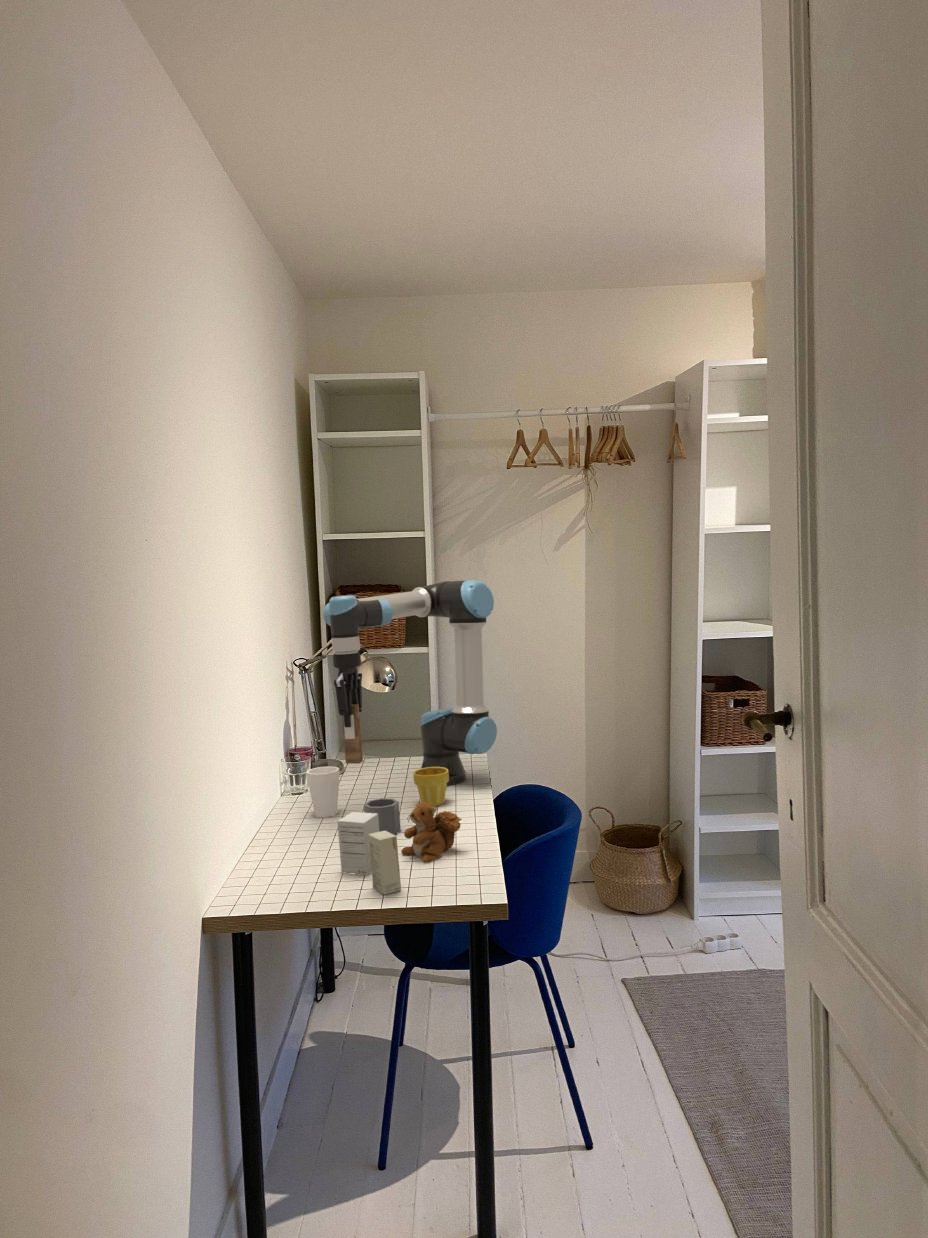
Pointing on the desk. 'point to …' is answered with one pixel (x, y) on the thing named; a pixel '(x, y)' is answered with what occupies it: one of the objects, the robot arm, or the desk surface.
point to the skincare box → (384, 862)
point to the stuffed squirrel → (430, 832)
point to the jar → (385, 814)
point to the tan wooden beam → (354, 745)
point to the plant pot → (432, 784)
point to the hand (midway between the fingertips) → (352, 737)
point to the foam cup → (324, 790)
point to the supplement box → (356, 841)
